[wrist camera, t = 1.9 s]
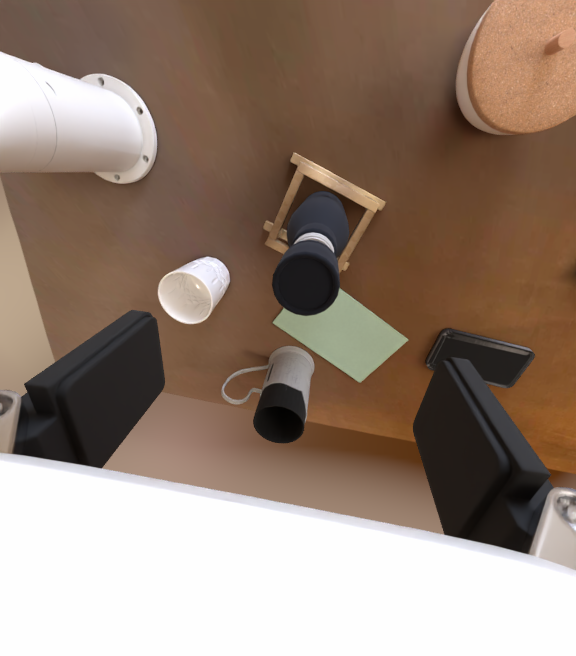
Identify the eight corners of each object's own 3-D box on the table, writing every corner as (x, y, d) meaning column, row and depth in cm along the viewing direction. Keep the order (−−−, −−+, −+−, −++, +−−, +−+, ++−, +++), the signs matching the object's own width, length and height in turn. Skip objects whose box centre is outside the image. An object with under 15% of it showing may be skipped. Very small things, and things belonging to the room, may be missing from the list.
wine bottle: (343, 237, 44) (358, 337, 18) (300, 238, 45) (254, 333, 19) (345, 190, 41) (369, 226, 15) (299, 191, 42) (244, 227, 16)
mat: (272, 321, 52) (272, 322, 52) (314, 269, 47) (314, 269, 46) (359, 381, 56) (360, 382, 55) (407, 338, 50) (408, 340, 50)
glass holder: (304, 389, 58) (296, 453, 45) (236, 365, 58) (208, 422, 45) (321, 355, 54) (317, 414, 41) (248, 329, 54) (220, 380, 41)
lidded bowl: (554, 125, 35) (639, 108, 25) (439, 153, 38) (476, 147, 28) (576, -23, 30) (695, -117, 20) (440, 22, 32) (486, -42, 23)
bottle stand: (263, 227, 45) (248, 240, 37) (294, 152, 40) (285, 148, 32) (345, 269, 46) (347, 290, 38) (385, 201, 41) (397, 209, 33)
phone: (445, 330, 47) (538, 352, 47) (443, 326, 48) (533, 349, 48) (424, 368, 51) (510, 390, 51) (422, 365, 52) (506, 386, 52)
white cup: (236, 259, 48) (214, 279, 39) (231, 302, 52) (210, 329, 43) (189, 247, 48) (157, 265, 39) (187, 292, 52) (157, 316, 43)
